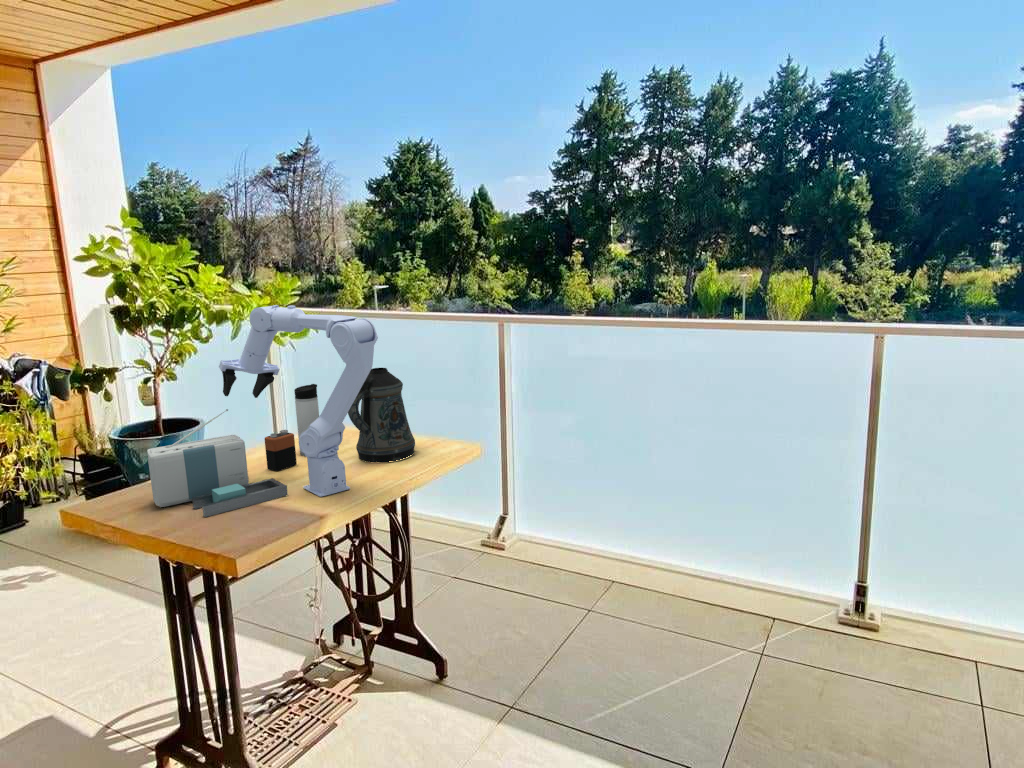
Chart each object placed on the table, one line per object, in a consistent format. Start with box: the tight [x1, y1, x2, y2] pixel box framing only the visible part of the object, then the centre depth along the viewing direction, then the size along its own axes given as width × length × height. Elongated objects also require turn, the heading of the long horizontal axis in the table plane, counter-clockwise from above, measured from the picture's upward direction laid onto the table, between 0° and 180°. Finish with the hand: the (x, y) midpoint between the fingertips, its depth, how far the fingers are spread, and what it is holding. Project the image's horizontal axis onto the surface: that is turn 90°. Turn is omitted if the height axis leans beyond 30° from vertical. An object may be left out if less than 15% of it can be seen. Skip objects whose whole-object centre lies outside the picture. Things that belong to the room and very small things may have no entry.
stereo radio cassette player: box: [146, 408, 250, 508], centre depth 167 cm, size 21×8×20 cm, turn 126°
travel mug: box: [293, 383, 320, 457], centre depth 201 cm, size 6×7×20 cm
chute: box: [191, 477, 289, 518], centre depth 164 cm, size 19×8×2 cm, turn 132°
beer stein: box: [347, 367, 416, 463], centre depth 195 cm, size 16×19×25 cm
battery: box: [263, 429, 298, 472], centre depth 189 cm, size 4×7×10 cm, turn 146°
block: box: [212, 484, 246, 502], centre depth 162 cm, size 5×6×4 cm
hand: (240, 394), depth 177 cm, fingers open, 7 cm apart
